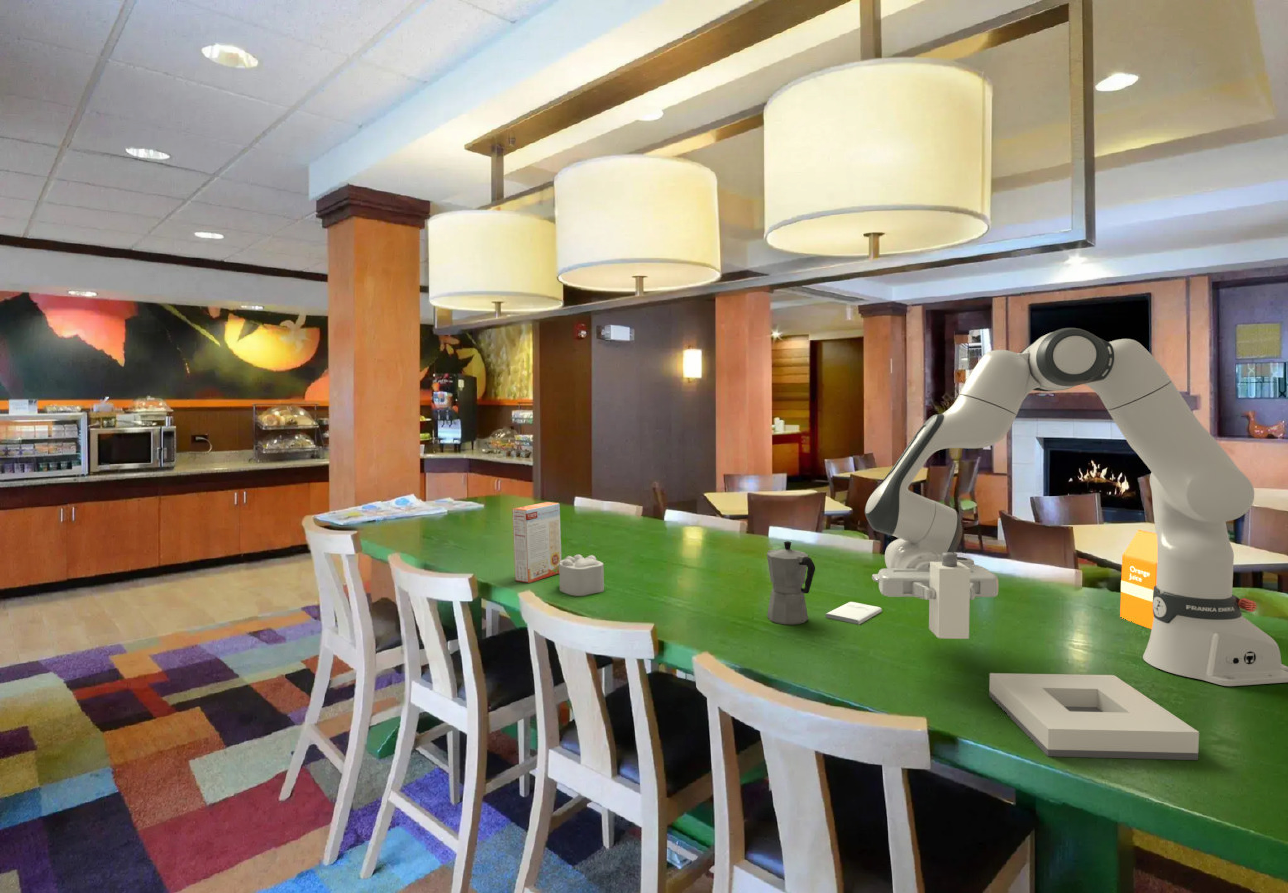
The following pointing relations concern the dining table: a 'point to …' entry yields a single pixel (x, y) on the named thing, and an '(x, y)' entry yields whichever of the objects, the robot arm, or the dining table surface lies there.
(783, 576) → the coffeepot
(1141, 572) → the orange juice
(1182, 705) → the dining table surface
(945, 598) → the plug
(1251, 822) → the dining table surface
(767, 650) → the dining table surface
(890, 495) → the robot arm
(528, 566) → the cracker box
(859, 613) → the external hard drive
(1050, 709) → the socket block
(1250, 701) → the dining table surface
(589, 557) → the lumpy-topped squat cylinder
